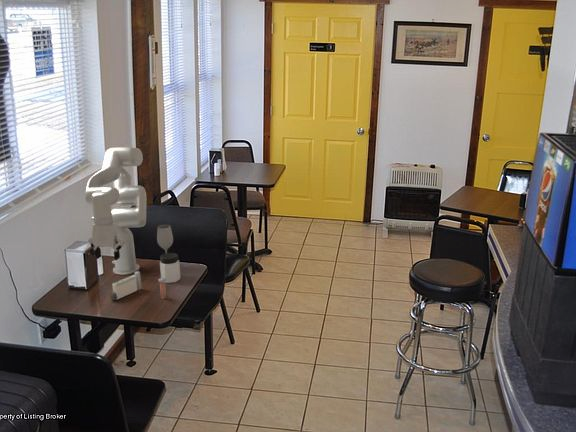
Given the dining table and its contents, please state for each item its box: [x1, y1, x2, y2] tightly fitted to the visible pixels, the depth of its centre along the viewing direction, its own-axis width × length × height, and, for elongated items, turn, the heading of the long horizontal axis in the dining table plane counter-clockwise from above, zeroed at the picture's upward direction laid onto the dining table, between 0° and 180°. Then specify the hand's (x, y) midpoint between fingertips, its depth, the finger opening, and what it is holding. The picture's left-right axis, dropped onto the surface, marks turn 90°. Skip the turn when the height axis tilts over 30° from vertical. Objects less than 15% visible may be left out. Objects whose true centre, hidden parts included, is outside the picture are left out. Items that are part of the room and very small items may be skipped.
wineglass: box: [156, 224, 174, 253], centre depth 311 cm, size 8×8×21 cm
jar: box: [159, 252, 181, 284], centre depth 297 cm, size 9×8×12 cm
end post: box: [157, 277, 168, 300], centre depth 278 cm, size 3×3×9 cm
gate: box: [109, 270, 142, 301], centre depth 282 cm, size 16×3×8 cm, turn 143°
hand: (107, 258), depth 277 cm, fingers open, 8 cm apart
